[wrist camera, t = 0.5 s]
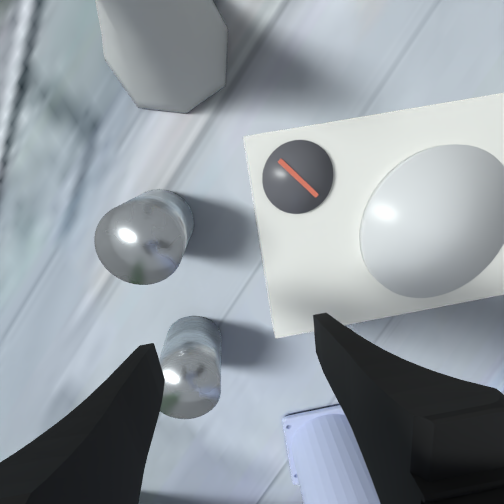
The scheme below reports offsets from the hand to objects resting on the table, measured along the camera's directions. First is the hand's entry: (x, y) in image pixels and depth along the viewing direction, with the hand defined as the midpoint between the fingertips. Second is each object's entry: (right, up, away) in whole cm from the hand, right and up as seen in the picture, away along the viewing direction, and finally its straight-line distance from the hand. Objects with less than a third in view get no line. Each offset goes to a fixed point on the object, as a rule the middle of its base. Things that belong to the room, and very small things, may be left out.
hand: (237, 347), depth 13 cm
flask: (-4, +16, +4) cm, 17 cm away
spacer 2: (-4, -3, +10) cm, 12 cm away
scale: (+11, +6, +9) cm, 15 cm away
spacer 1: (-6, +6, +7) cm, 11 cm away
